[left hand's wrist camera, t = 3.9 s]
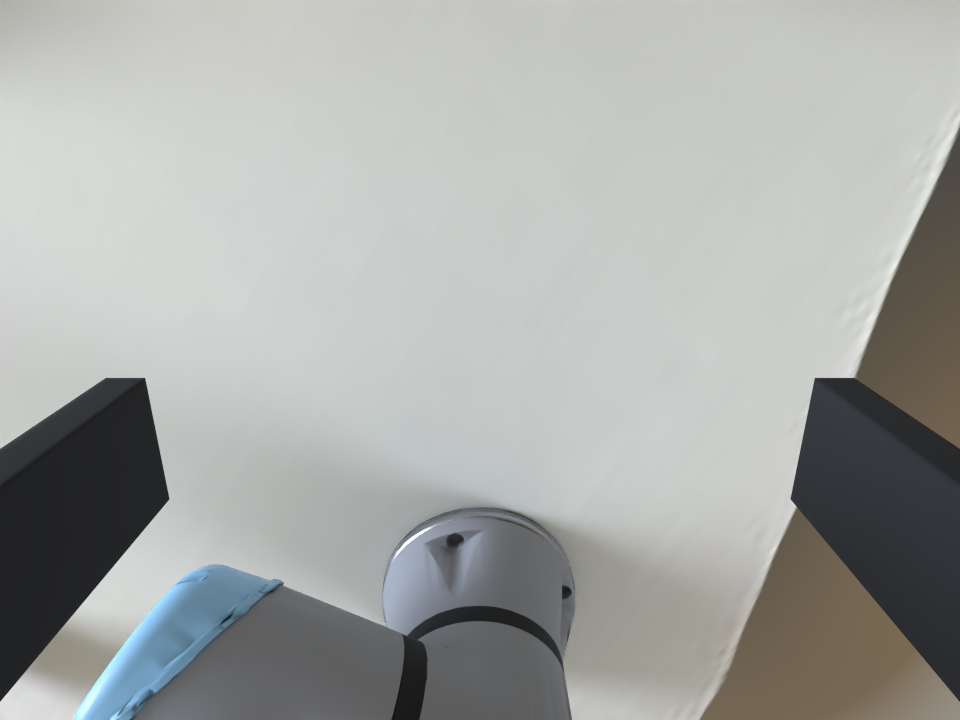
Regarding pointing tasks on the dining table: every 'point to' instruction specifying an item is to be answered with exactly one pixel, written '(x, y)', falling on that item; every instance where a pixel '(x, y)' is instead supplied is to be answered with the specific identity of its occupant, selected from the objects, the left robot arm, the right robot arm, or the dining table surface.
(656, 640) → the dining table surface
